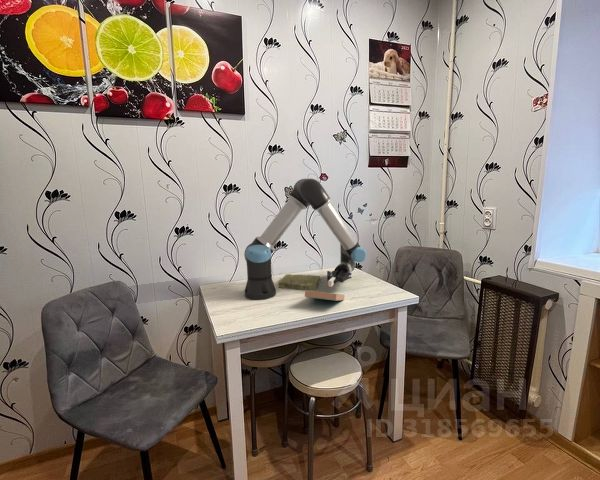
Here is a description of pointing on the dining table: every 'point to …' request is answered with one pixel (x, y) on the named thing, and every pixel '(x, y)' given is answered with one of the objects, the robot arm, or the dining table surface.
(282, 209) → the robot arm
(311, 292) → the standing tile
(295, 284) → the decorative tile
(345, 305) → the dining table surface
